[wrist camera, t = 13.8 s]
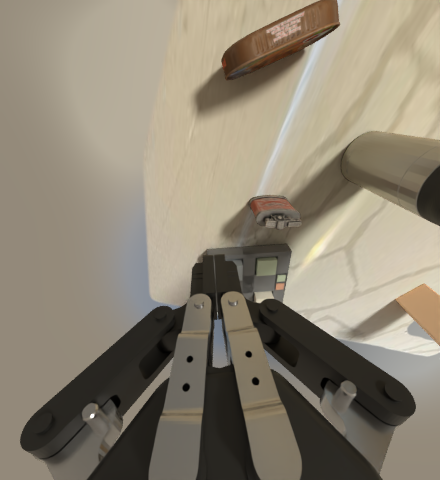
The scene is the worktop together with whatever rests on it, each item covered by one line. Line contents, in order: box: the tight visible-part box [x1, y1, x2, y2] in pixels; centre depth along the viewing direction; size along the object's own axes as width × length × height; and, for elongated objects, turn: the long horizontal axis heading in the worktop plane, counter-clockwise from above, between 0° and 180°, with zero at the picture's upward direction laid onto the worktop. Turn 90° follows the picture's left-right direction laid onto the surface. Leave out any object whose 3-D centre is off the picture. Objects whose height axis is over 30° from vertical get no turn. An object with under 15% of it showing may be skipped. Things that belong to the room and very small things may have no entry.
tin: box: [221, 0, 340, 80], centre depth 28 cm, size 15×3×8 cm, turn 110°
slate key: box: [225, 259, 243, 281], centre depth 48 cm, size 4×4×2 cm
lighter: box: [249, 195, 302, 229], centre depth 40 cm, size 8×3×10 cm, turn 90°
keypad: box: [207, 244, 292, 312], centre depth 53 cm, size 19×19×3 cm
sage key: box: [255, 257, 277, 276], centre depth 49 cm, size 4×4×2 cm
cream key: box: [254, 291, 274, 303], centre depth 54 cm, size 4×4×2 cm
